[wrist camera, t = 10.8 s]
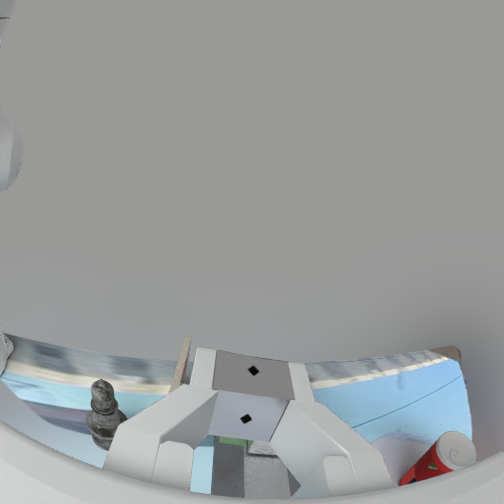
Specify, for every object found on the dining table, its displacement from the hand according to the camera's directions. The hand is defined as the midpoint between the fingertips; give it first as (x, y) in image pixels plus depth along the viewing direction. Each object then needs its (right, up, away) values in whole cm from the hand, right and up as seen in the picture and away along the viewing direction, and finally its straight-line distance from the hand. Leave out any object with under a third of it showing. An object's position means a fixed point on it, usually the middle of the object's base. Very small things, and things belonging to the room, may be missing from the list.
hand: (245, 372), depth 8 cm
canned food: (+26, -34, +21) cm, 48 cm away
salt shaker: (-19, -22, +24) cm, 38 cm away
